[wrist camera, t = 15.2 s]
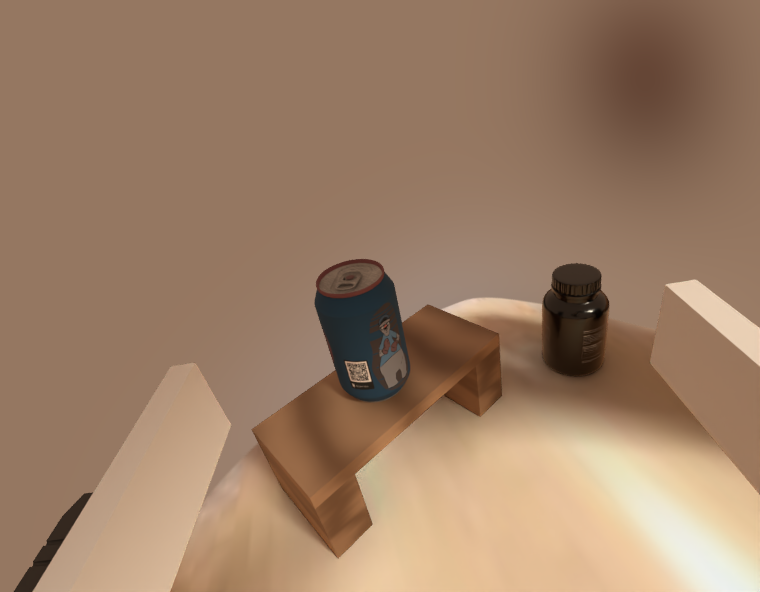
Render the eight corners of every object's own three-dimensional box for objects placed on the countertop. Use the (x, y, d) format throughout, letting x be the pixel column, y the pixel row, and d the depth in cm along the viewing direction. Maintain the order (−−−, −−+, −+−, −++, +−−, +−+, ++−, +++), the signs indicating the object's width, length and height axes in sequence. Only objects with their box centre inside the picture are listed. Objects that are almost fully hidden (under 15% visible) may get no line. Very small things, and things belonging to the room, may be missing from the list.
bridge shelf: (436, 360, 55) (427, 304, 50) (501, 395, 48) (498, 333, 43) (281, 487, 43) (251, 429, 38) (338, 558, 36) (309, 498, 31)
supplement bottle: (596, 340, 52) (606, 256, 46) (609, 379, 47) (621, 289, 41) (538, 340, 54) (540, 260, 48) (544, 377, 49) (546, 292, 43)
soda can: (354, 356, 44) (325, 257, 38) (417, 357, 42) (398, 253, 36) (332, 406, 39) (295, 299, 33) (405, 410, 37) (379, 297, 30)
